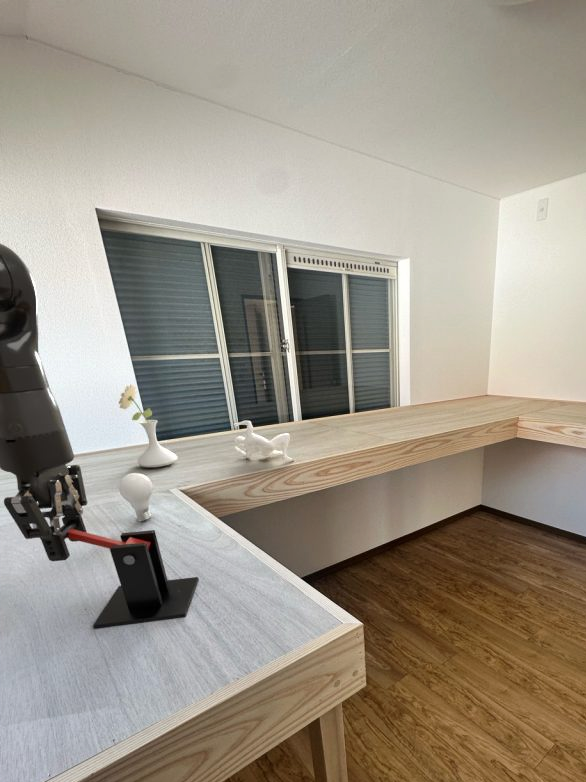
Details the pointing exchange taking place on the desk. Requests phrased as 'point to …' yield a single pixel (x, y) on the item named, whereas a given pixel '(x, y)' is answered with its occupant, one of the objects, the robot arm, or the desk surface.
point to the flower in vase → (154, 452)
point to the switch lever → (93, 537)
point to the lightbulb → (137, 493)
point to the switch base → (144, 586)
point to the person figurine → (261, 443)
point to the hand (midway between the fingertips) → (70, 548)
